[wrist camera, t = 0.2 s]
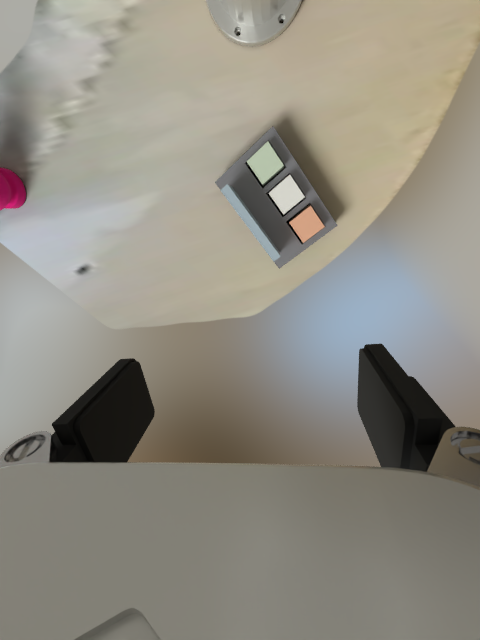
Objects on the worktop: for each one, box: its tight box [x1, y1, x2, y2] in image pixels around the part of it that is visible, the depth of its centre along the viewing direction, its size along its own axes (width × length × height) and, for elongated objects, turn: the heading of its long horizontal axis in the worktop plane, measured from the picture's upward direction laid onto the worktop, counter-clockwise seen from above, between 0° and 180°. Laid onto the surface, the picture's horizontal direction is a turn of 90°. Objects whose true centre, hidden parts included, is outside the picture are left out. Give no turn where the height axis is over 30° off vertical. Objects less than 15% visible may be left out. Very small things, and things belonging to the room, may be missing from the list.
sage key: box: [247, 142, 284, 186], centre depth 37 cm, size 4×4×3 cm
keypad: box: [215, 127, 337, 268], centre depth 38 cm, size 16×10×7 cm, turn 39°
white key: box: [269, 175, 305, 215], centre depth 38 cm, size 4×4×3 cm
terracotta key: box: [289, 206, 325, 243], centre depth 39 cm, size 4×4×3 cm
